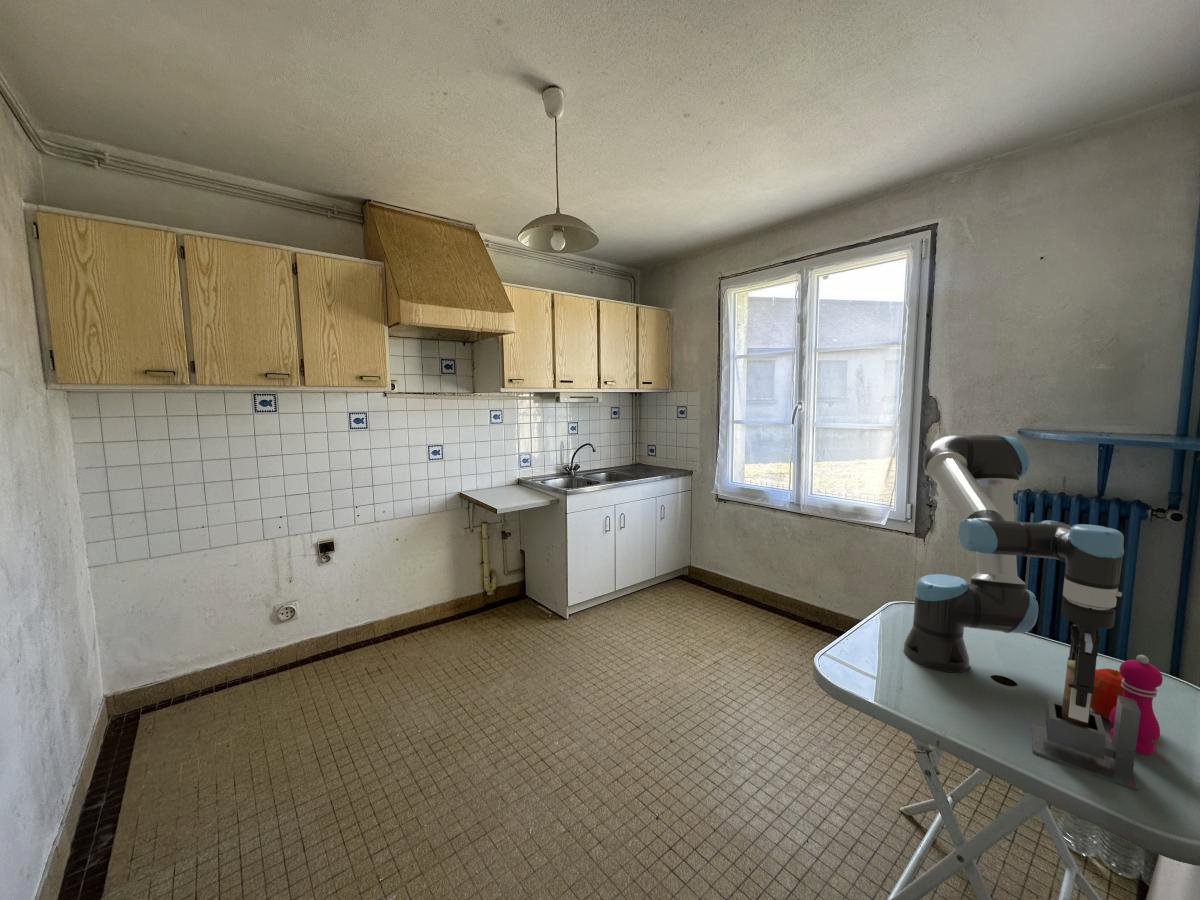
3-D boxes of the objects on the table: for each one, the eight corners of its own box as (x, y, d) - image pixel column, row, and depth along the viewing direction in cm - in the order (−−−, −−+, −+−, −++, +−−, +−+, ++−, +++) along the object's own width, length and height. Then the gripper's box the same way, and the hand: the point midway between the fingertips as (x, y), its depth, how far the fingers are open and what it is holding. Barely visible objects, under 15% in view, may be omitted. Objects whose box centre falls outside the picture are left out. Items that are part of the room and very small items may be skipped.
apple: (1072, 698, 117) (1077, 654, 116) (1129, 711, 113) (1135, 664, 112) (1090, 722, 109) (1096, 675, 107) (1153, 737, 104) (1160, 687, 103)
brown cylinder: (1060, 735, 99) (1067, 665, 97) (1058, 725, 102) (1066, 657, 100) (1088, 744, 96) (1096, 673, 94) (1085, 733, 99) (1094, 665, 98)
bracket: (1033, 753, 99) (1040, 689, 98) (1031, 726, 107) (1037, 667, 106) (1136, 790, 90) (1146, 721, 88) (1126, 757, 98) (1134, 693, 96)
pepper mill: (1097, 733, 105) (1107, 647, 103) (1126, 731, 106) (1137, 645, 104) (1136, 757, 98) (1148, 665, 96) (1168, 755, 99) (1180, 664, 96)
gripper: (1124, 626, 86) (1109, 744, 88) (1108, 592, 101) (1095, 694, 103) (1066, 613, 91) (1054, 726, 93) (1059, 583, 106) (1048, 681, 108)
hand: (1076, 709), depth 98 cm, fingers open, 7 cm apart
